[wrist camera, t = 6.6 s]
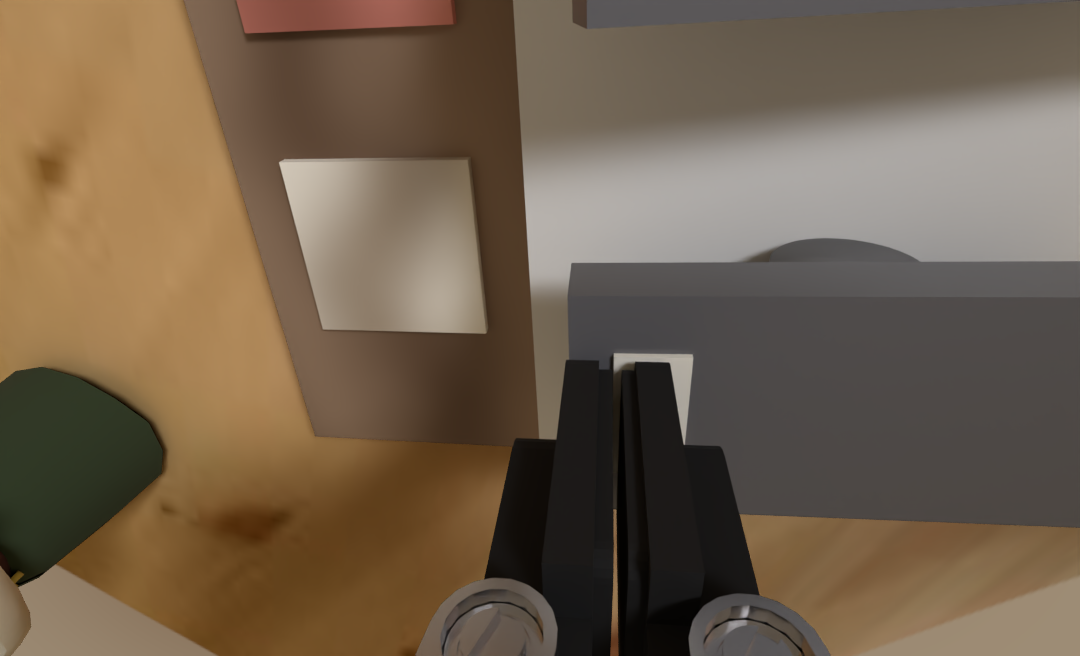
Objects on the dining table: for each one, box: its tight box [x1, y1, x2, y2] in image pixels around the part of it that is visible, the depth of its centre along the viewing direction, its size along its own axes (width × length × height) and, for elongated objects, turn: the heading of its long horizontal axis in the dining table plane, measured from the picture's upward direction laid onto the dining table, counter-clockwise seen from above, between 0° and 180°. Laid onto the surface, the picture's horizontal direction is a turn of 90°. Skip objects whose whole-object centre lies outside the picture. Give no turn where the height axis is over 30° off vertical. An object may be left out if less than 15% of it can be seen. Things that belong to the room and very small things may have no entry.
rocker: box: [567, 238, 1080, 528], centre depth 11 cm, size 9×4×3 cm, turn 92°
